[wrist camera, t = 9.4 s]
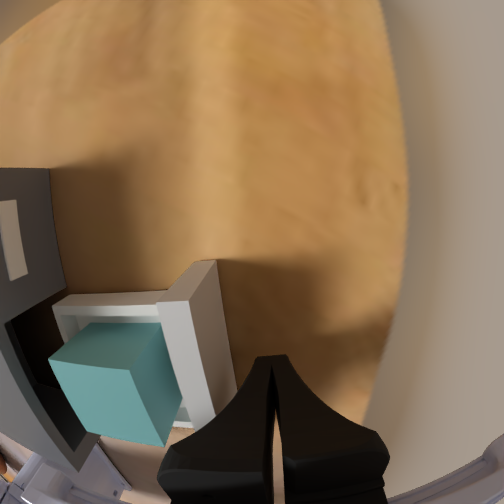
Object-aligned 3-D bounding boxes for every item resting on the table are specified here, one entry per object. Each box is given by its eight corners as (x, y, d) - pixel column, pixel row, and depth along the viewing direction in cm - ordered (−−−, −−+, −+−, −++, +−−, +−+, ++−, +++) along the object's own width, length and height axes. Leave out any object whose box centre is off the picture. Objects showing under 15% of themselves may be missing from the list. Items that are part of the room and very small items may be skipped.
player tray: (243, 420, 14) (237, 484, 9) (115, 411, 15) (87, 458, 10) (216, 259, 12) (188, 300, 7) (64, 273, 13) (6, 302, 8)
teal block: (184, 393, 13) (164, 447, 9) (115, 388, 13) (86, 431, 10) (163, 322, 12) (129, 369, 8) (90, 322, 13) (47, 359, 9)
